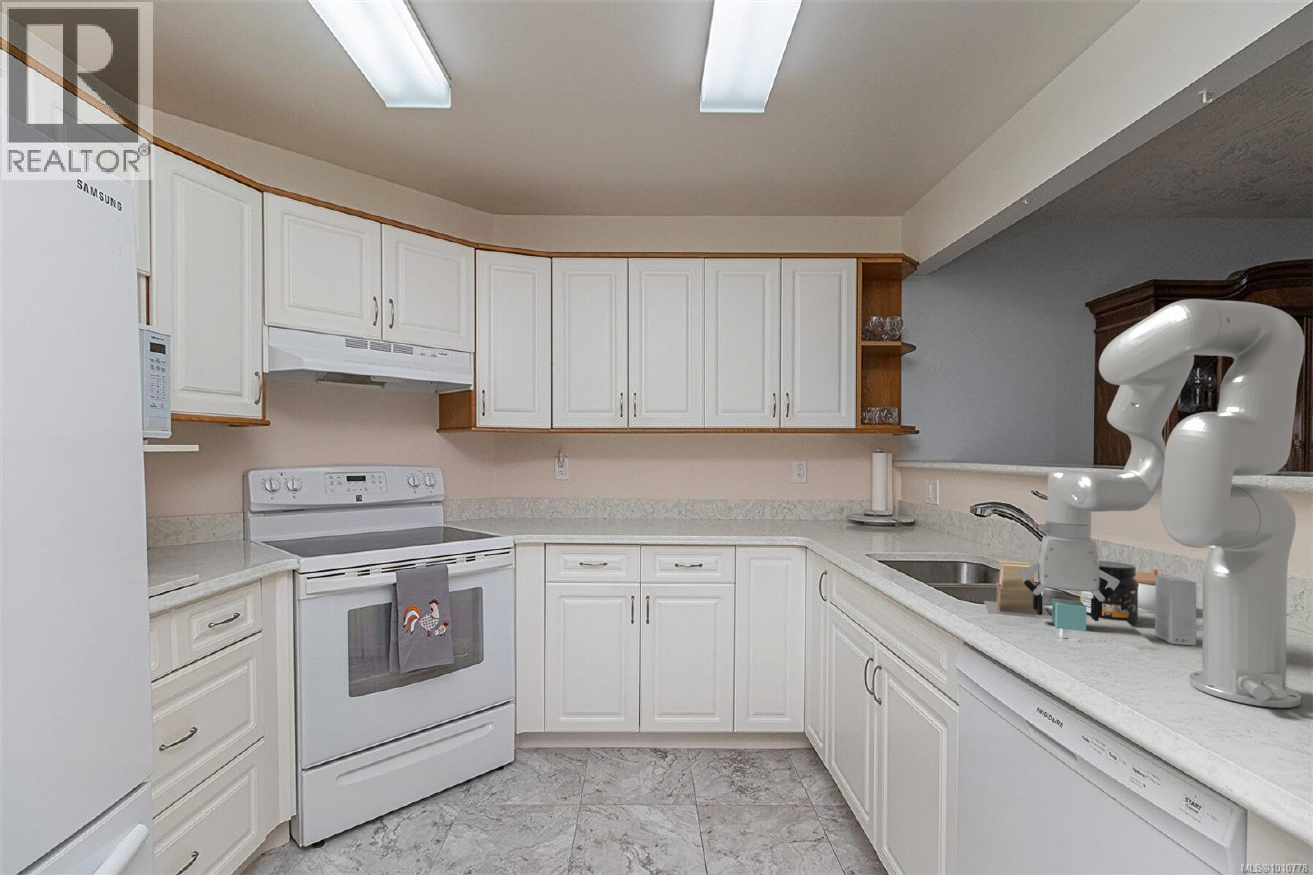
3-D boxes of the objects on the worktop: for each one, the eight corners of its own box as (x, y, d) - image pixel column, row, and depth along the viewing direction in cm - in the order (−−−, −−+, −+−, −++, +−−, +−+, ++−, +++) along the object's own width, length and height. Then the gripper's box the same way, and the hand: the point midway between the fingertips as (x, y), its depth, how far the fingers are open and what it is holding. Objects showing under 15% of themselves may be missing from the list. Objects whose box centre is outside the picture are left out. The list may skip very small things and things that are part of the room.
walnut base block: (1036, 614, 140) (1037, 591, 140) (1000, 611, 143) (1000, 588, 143) (1031, 607, 147) (1032, 585, 147) (996, 604, 149) (996, 582, 149)
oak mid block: (1034, 590, 141) (1034, 567, 141) (1002, 588, 143) (1002, 565, 143) (1029, 585, 146) (1029, 562, 146) (999, 582, 149) (999, 560, 149)
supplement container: (1077, 620, 140) (1077, 564, 141) (1081, 611, 149) (1081, 558, 149) (1138, 629, 134) (1138, 570, 134) (1138, 618, 143) (1138, 563, 143)
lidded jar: (1128, 602, 158) (1128, 563, 158) (1185, 610, 151) (1185, 569, 151) (1123, 611, 149) (1123, 569, 150) (1183, 619, 142) (1183, 576, 142)
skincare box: (1197, 646, 123) (1197, 582, 123) (1171, 644, 124) (1171, 581, 124) (1178, 637, 129) (1178, 576, 129) (1153, 635, 130) (1154, 574, 130)
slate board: (1052, 624, 137) (1052, 619, 137) (988, 618, 141) (988, 612, 141) (1042, 611, 148) (1042, 606, 148) (983, 605, 152) (983, 600, 152)
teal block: (1086, 637, 128) (1086, 606, 128) (1056, 634, 130) (1056, 604, 130) (1080, 630, 133) (1080, 601, 133) (1052, 628, 135) (1052, 598, 135)
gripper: (1022, 531, 132) (1020, 616, 132) (1125, 537, 125) (1123, 627, 125) (1017, 526, 139) (1015, 607, 139) (1114, 532, 132) (1112, 617, 132)
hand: (1066, 616), depth 132 cm, fingers open, 9 cm apart
